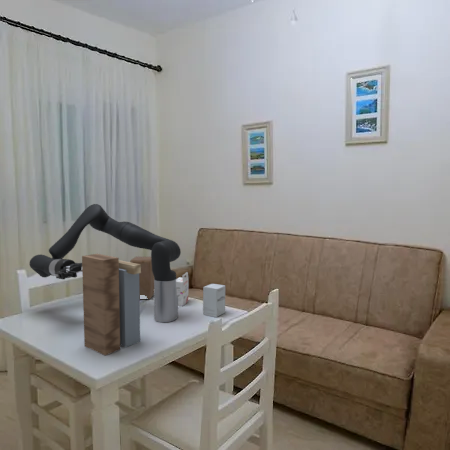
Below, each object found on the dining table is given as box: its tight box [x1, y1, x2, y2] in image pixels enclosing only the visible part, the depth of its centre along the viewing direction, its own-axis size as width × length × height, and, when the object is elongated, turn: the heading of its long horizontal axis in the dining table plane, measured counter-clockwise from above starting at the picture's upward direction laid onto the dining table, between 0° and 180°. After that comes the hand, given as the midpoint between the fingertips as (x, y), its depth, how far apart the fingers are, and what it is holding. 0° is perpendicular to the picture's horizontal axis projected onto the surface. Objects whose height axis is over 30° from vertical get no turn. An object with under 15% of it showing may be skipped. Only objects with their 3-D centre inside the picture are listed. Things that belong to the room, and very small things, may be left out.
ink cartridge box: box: [176, 271, 189, 307], centre depth 183 cm, size 9×5×15 cm, turn 168°
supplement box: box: [202, 283, 226, 318], centre depth 168 cm, size 7×7×13 cm
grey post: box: [119, 269, 141, 348], centre depth 138 cm, size 6×12×27 cm, turn 53°
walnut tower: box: [81, 253, 121, 356], centre depth 131 cm, size 6×12×32 cm, turn 53°
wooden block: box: [129, 256, 154, 301], centre depth 192 cm, size 10×10×20 cm
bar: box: [119, 259, 141, 274], centre depth 138 cm, size 3×24×3 cm, turn 53°
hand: (85, 270), depth 147 cm, fingers open, 8 cm apart
